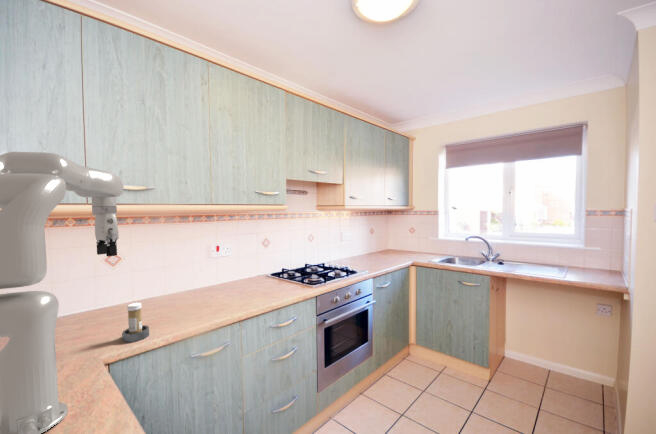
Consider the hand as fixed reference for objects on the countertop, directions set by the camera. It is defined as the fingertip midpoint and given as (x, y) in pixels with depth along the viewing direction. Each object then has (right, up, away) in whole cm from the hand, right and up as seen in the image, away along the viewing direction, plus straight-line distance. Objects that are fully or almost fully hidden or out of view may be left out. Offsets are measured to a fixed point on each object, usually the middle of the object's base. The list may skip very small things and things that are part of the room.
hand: (106, 255), depth 110 cm
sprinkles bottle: (+10, -33, +2) cm, 35 cm away
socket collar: (+10, -33, +2) cm, 35 cm away
